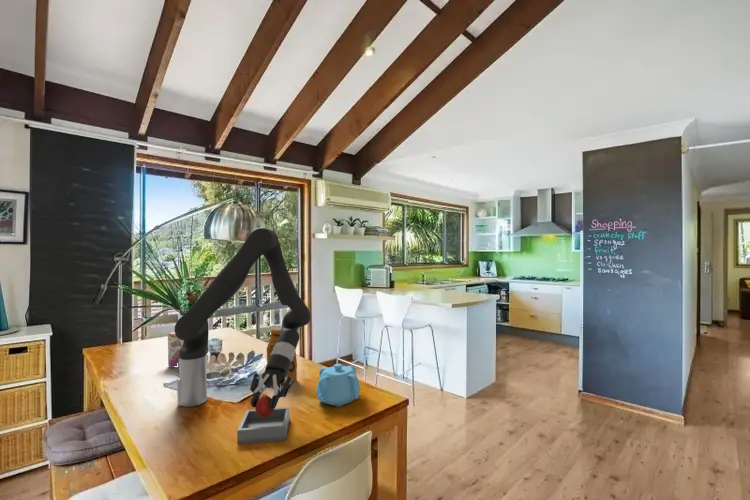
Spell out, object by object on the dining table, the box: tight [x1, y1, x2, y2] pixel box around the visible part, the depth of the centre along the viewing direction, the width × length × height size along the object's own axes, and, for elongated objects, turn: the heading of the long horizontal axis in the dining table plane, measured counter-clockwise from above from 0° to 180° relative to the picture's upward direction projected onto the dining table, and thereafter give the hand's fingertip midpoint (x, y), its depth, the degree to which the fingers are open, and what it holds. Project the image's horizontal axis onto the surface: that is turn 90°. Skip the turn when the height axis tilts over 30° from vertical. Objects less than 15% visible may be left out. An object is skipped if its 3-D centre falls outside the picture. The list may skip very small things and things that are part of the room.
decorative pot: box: [316, 363, 361, 408], centre depth 144 cm, size 16×16×14 cm
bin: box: [236, 406, 291, 445], centre depth 121 cm, size 14×14×4 cm
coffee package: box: [266, 328, 298, 386], centre depth 164 cm, size 10×12×22 cm
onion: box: [254, 393, 274, 419], centre depth 121 cm, size 6×6×8 cm
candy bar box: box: [167, 331, 184, 366], centre depth 185 cm, size 11×5×16 cm, turn 71°
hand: (261, 407), depth 119 cm, fingers open, 5 cm apart
